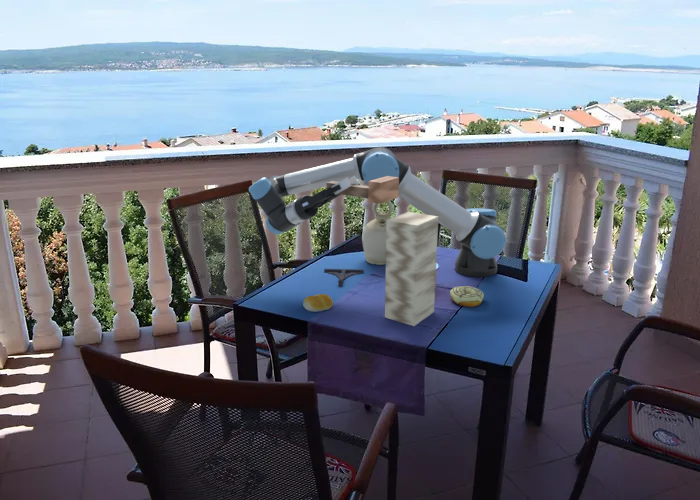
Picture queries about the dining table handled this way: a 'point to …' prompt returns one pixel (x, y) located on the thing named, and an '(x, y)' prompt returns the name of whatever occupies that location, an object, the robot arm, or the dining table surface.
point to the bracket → (343, 273)
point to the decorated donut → (467, 296)
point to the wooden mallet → (373, 189)
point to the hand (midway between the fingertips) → (352, 181)
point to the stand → (410, 267)
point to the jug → (376, 237)
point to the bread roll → (317, 303)
